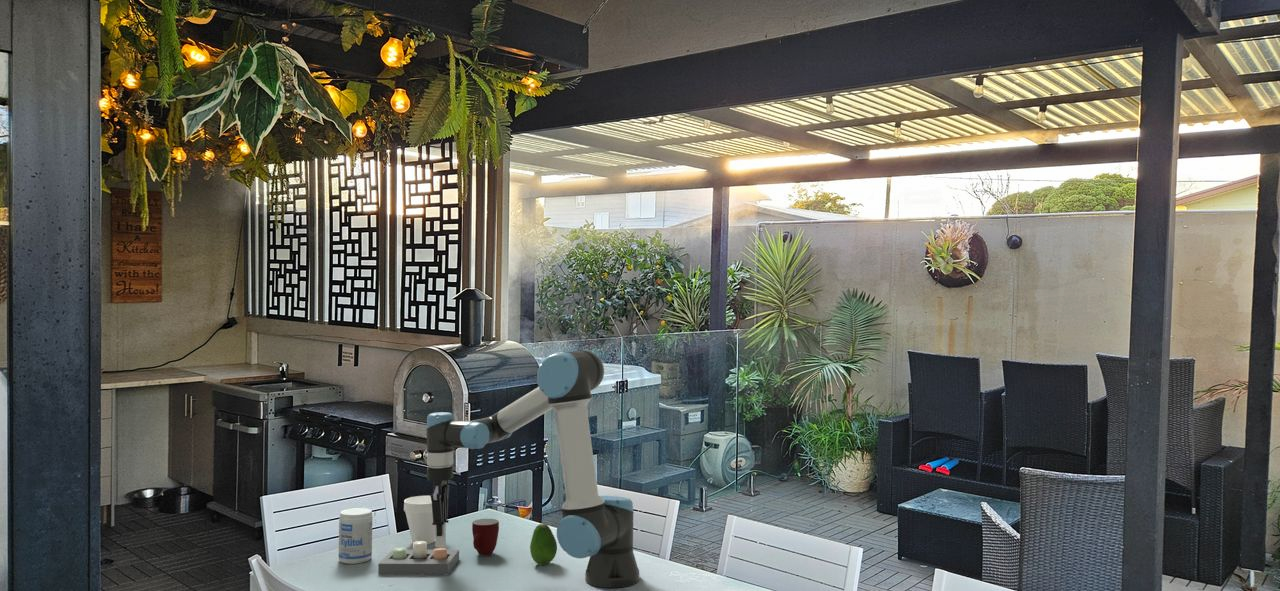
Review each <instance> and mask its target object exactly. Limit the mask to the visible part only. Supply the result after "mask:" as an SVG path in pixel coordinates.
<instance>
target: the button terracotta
mask: <svg viewBox="0 0 1280 591" xmlns="http://www.w3.org/2000/svg"><path fill="white" fill-rule="evenodd" d="M432 550H433V559H447V550H448V548H446V547H435V548H433V549H432Z"/></svg>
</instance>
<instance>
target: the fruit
mask: <svg viewBox="0 0 1280 591" xmlns="http://www.w3.org/2000/svg"><path fill="white" fill-rule="evenodd" d="M553 533H554V532H553V531H552V529H551V528H550V526H549V525H548V524H546V523H540V524H538V525H536V527H535V528H534V530H533V533H532V536H531V539H530V545H529V549H530V556H531V558H532V559H533V560H532V561H534V563H536V564H537V565H540V566H543V565H548V564H549V563H551V562H553V560H554V559H555V557H556V555H557V552H558V551H557V550H558V543H557V541H556V540H557V539H556V538H555V536H554V534H553Z"/></svg>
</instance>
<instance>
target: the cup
mask: <svg viewBox="0 0 1280 591" xmlns="http://www.w3.org/2000/svg"><path fill="white" fill-rule="evenodd" d="M403 502H404V503H403V512H405V515H406V521H407V525H408V528H409V532H410V537H411V542H412V544H413V543H414V542H416V541H426V542H427V545H430V544H433V543H434V542H435V525H432V523H433V513H432V501H431V496H430V495H417V496H410V497H408V498H405V499H404V500H403Z"/></svg>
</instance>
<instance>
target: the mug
mask: <svg viewBox="0 0 1280 591" xmlns="http://www.w3.org/2000/svg"><path fill="white" fill-rule="evenodd" d="M471 524H472V525H471V526H472V529H471V530H472V531H471V532H472V538H473V543H472V544H473V548H474V550H476V552H477V553H478V555H479V556H481V557H488V556H491V555H493V553H494V551H495V549H496V547H497V543H498V537H499V530H500V521H499V520H498V519H495V518H480V519H479V518H478V519H476V520H473V521H472V523H471Z"/></svg>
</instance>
